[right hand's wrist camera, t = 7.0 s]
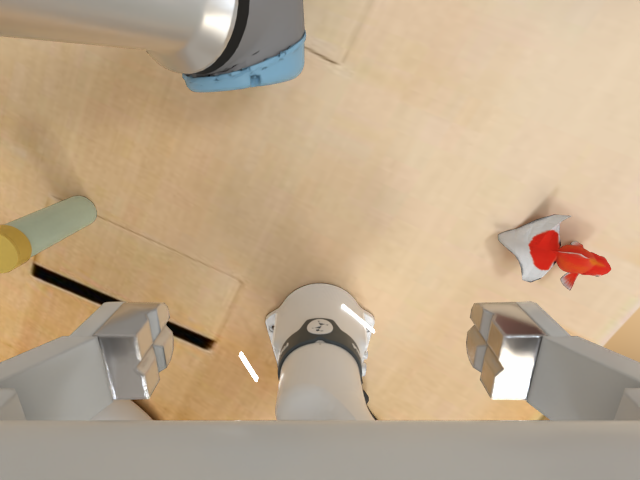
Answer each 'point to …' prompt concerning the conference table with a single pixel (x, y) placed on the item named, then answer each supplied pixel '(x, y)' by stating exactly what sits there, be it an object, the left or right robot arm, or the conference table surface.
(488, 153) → the conference table surface
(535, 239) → the fish
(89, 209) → the jar
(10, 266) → the lid
